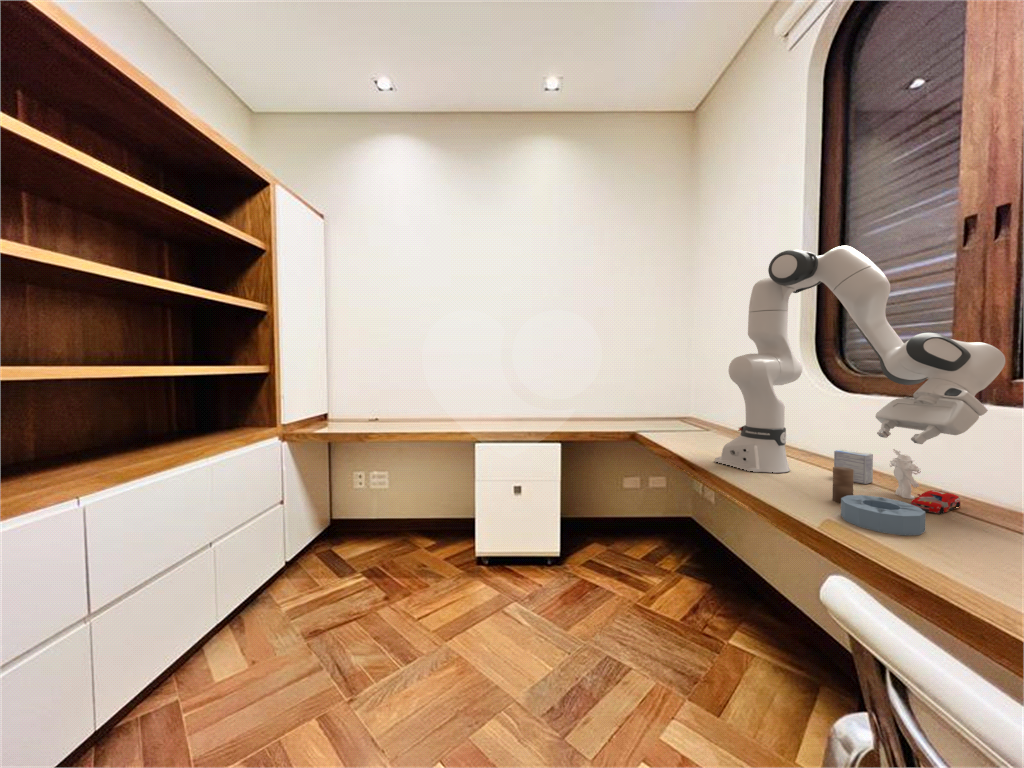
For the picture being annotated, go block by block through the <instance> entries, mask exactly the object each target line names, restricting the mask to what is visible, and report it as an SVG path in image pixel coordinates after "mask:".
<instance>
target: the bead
mask: <svg viewBox="0 0 1024 768" xmlns="http://www.w3.org/2000/svg"><path fill="white" fill-rule="evenodd" d="M926 513H927V511H923V510H922V509H921V508H919V507H917V506H914V505H911V503H908V502H905V501H902V500H897V499H891V498H887V497H881V496H875V495H863V494H853V495H847V496H845V497H842V498H841V504H840V516H841V517H842V519H843V520H844V521H845V522H848V523H850V524H853V525H854V526H856V527H859V528H862V529H866V530H869V531H874V532H878V533H883V534H884V533H885V534H890V535H896V536H897V535H899V536H920V535H922V534H923V533H925V532H926V521H927V520H926V517H927V516H926Z"/></svg>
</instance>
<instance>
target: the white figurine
mask: <svg viewBox="0 0 1024 768" xmlns="http://www.w3.org/2000/svg"><path fill="white" fill-rule="evenodd" d="M892 450H893V452H894V454H895V455H896V456H897V457H894V458H892V460H889V467H890V468H892V467H894V469H893V476H894V477H895V479H896V480H897V483H898V487H897V488H896V490H895V495H896V496H900V497H901V498H903V499H907V500H908V499H910V500H913V499H915V498H916V497H915V496H914V495H912V487H913V488H916V489H917V488H919V487H920V484H919V483H918V481H917V480H915V478H914V476H913V474H914V475H918V474H921V468H919V466H917V464H916V463H913V462H915V460H914V459H912V457H911V456H910V455H908V454H901V451H900V450H899V451H898V450H896V449H895V448H893V449H892Z"/></svg>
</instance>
